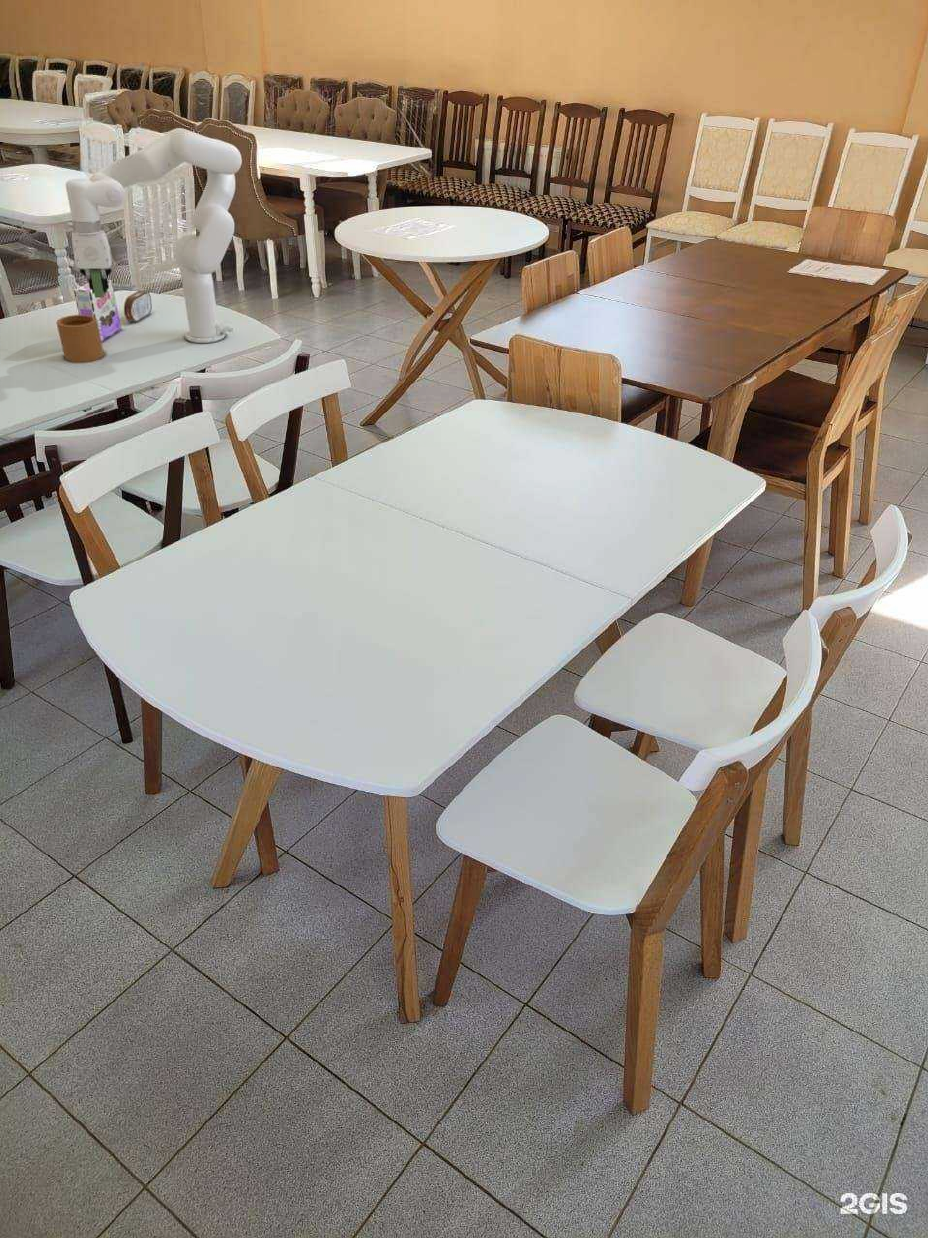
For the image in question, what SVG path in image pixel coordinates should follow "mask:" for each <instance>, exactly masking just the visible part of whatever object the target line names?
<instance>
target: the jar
mask: <svg viewBox="0 0 928 1238" xmlns="http://www.w3.org/2000/svg"><path fill="white" fill-rule="evenodd" d="M56 326H57V330H58V331H57V332H58V335H59V339H60V343H61V348H62V351H63V355H64V359H65V360H66V361H68V362H73V363H89V362H94V361H97V360H99V359H101V358H103V356H104V354H105V353H104V348H103V343H102V342H103V341H102V342H101V338H100V333H99V328H98V324H97V319H96V317H93V316H90V315H79V314H72V315H68V316H64V317H61V318H59V319H57V320H56Z"/></svg>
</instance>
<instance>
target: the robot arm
mask: <svg viewBox="0 0 928 1238" xmlns="http://www.w3.org/2000/svg"><path fill="white" fill-rule="evenodd" d="M184 163H186V164H189V165H192V166H194V167H198V168H201V169H205V170H206V175H207V178H206V182H205V183H206V184H205V187H204V189H203V192H202V194H201V196H200V199H199V201H198V203H197V205H196V207H195V210H194V211H193V213H192V224H193V227H194V228H195V229H196V231H197V232H199V234H198V236H197V235H195V234H184V235H182V236H181V237H179V239H178V240H177V242H176V244H175V247H174V248H175V249H174V252H175V259H176V262H177V263H176V264H177V266H178V269H179V273H180V277H181V283H182V288H183V289H182V290H183V297H184V304H185V310H186V315H187V324H188V329H189V330H188V331H187V332H185V334H184V335H185V336H184V337H185V339H186V340H187V341H189V342H192V343H198V344H207V343H214V342H218V341H221V340H222V339H224V338H225V336H226V333H227V332H228V333H233V332H234V325H230V324H229V323H225V324H223V323H221V321H220V320H221V319H219V317H218V311H217V303H216V295H215V288H214V287H215V286H214V280H213V275H212V274H213V273H215V271H217V269H218V268H219V267H220V265H221V263H222V261H223V259H224V257H225V255H226V252H227V250H228V248H229V246H230V245H231V242H232V239H233V236H234V233H235V221H234V218H233V216H232V214H231V213H230V212H229V208H230V207H231V204H232V201H233V199H234V196H235V192H236V176H235V174H236V173H238V172H239V170H240V169H241V167H242V163H243V158H242V154H241V152H240V150H239V149H238V147H236V146H235V145H234V144H232V143H229V142H225V141H223V140H221V139H218V138H211V137H208V136H205V135H202V134H199V133H196V132H194V131H191V130H189V129H185V128H183V127H182V128H181V127H177V128H174V129H171V130H169V131H168V132H166V133H164V135H162V136H160V137H159V138H157V139H155V140H154V141H152V142H151V143H149V144H147V145H146V146H144V147H143V148H142V149H140V150H138V151H135V152H133V153H130V154H128V155H126V156H124V157H121V158H119V159H117V160H115V161H112V162H110V163H109V164H107V165H106V166H104V167H102V168H101V169H99V170H98V171H96V172H95V173H94V174H92V175H91V177H89V179H87V178H73V179H69V180H67V181H66V182H65V189H66V195H67V201H68V204H69V209H70V215H71V221H70V222H67V225H68V228H72V229H73V231H71V244H72V252H73V258H74V262H73V265H72V270H73V271H76V272H78V273H81V275H83V276H84V277H85V278H86V279H87V283H89V287H90V289H92V292H93V293H94V289H93V284H92V279H91V273H90V269H101V273H102V279H101V280H102V286H103V291H104V293H106V292H107V289H109V286H108V280H109V279H108V277H109V275H111V273H113V272H115V271H117V270H118V269H119V266H118V264H117V263H116V261H115V260H114V258H113V255H112V250H111V245H110V243H109V239H108V237H107V234H106V232H105V230H103V228H102V227H103V226H102V223H101V217H100V211H99V208H102V207H103V208H117V207H118V208H119V207H120V206H121V205H123V204H124V202H125V201H126V199H127V196H126V195H127V194H126V193H127V192H126V188H127V187H129V186H133V185H135V184H138V183H146V182H153V181H157V180H159V179H161V178H162V177H164V176H165V175H166V174H168V173H170V172H171V171H172V170H174V169H176V168H177V167H179V166H181V165H182V164H184Z"/></svg>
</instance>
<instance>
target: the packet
mask: <svg viewBox="0 0 928 1238" xmlns="http://www.w3.org/2000/svg"><path fill="white" fill-rule="evenodd" d="M90 273H91V279H92V284H93V289H94V294H95V298H104V296H105V294H106V293H104V291H103V286H102V280H101V279H102V273H101V269H90Z"/></svg>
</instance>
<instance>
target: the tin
mask: <svg viewBox="0 0 928 1238" xmlns="http://www.w3.org/2000/svg"><path fill="white" fill-rule="evenodd" d="M152 304H153V303H152V296H151V294H150V292H148V291H144V290H138V291H135V292H134V293H132V294H130V295H128V296H127V297H126V299H125V301H124V305H123V313H124V317H125V319H126V320H127V321H128V322H134V323H138V322H139V321H141V320H143V319H144V318H146V317H148V316H149V315H151V312H152V307H153V305H152Z"/></svg>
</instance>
